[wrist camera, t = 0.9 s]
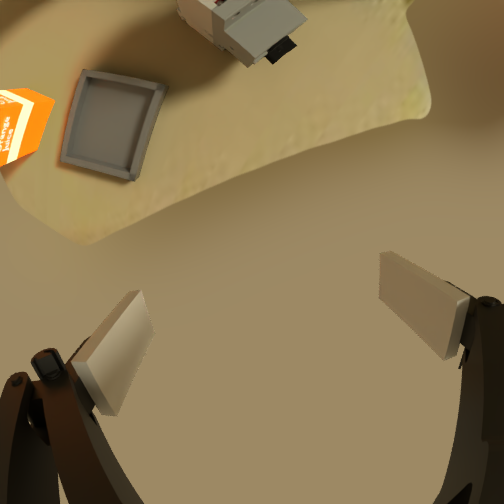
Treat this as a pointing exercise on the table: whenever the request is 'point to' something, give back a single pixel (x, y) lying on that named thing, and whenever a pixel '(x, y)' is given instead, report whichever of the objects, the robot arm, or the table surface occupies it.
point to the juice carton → (21, 122)
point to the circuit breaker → (245, 26)
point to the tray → (111, 123)
